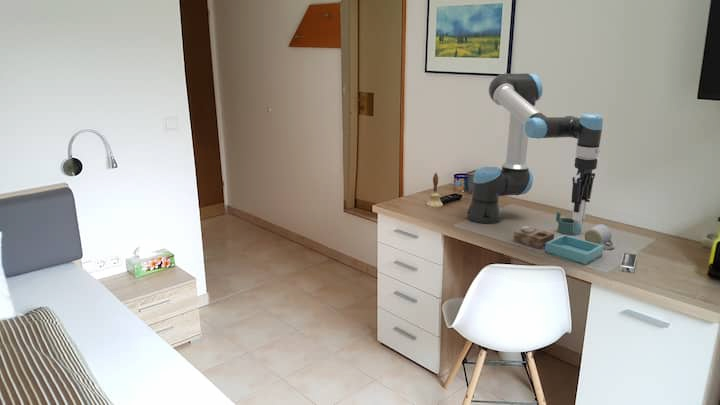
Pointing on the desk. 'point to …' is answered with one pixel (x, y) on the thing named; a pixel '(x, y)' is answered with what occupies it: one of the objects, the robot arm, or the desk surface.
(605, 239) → the ceramic mug
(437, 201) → the hand bell
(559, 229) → the bracket
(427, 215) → the desk surface
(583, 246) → the tray
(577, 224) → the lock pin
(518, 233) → the brown wooden block
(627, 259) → the multiport hub
